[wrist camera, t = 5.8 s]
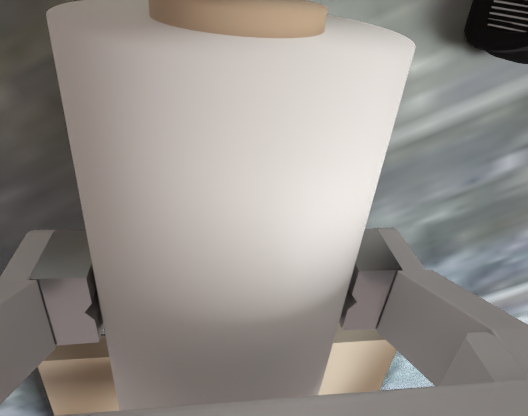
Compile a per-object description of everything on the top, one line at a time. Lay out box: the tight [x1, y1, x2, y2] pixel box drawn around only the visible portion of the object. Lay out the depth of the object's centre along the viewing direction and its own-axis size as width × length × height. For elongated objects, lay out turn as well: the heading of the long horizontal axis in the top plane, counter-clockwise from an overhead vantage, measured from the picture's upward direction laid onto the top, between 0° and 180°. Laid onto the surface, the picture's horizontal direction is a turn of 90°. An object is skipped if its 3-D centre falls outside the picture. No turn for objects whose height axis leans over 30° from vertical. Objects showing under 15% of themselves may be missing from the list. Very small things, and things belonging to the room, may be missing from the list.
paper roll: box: [46, 0, 416, 411], centre depth 9 cm, size 11×5×5 cm
